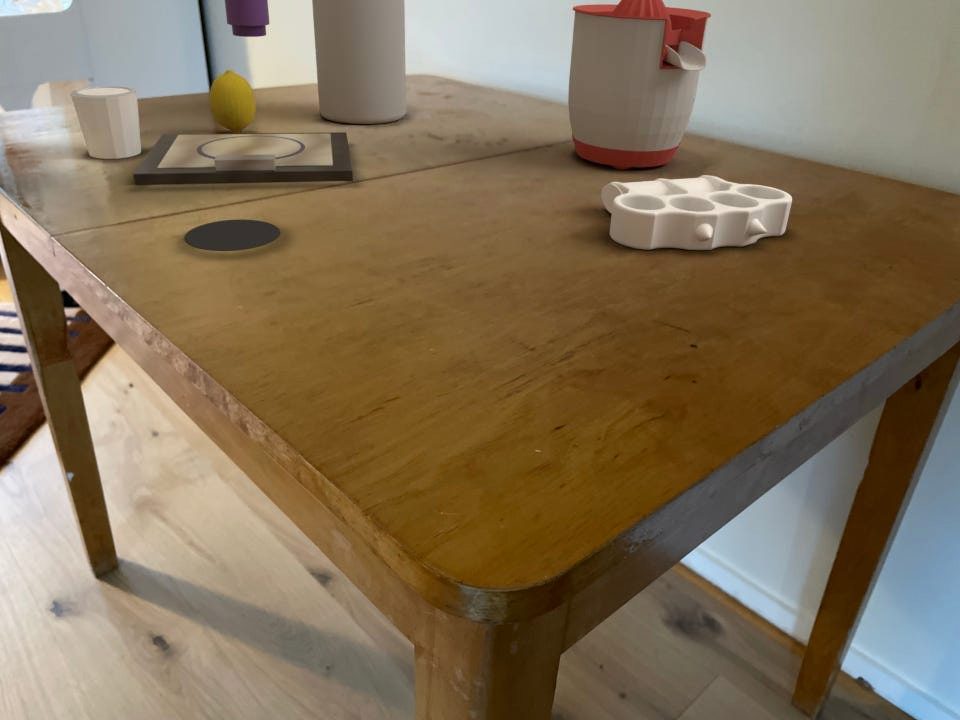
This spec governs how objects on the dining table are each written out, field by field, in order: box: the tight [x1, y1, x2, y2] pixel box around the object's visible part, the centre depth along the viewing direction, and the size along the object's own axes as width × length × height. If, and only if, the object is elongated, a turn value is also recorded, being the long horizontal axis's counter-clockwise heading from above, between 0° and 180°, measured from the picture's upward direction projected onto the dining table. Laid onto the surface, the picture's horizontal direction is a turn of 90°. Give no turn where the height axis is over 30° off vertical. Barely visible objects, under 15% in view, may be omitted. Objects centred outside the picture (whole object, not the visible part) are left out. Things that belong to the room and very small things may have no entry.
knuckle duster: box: [600, 174, 793, 251], centre depth 74 cm, size 3×18×15 cm
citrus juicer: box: [567, 0, 712, 170], centre depth 92 cm, size 16×17×20 cm
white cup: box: [70, 86, 142, 160], centre depth 90 cm, size 7×7×7 cm
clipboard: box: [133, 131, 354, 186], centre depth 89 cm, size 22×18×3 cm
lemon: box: [209, 69, 256, 133], centre depth 100 cm, size 6×6×8 cm
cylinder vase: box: [311, 0, 407, 125], centre depth 108 cm, size 12×12×25 cm
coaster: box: [183, 219, 281, 252], centre depth 68 cm, size 8×8×1 cm
